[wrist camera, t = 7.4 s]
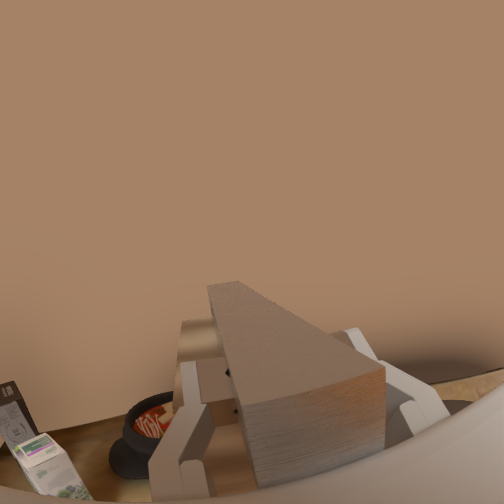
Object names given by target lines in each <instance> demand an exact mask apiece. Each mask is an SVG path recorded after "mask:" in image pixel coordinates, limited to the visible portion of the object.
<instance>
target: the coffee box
mask: <svg viewBox="0 0 504 504" xmlns="http://www.w3.org/2000/svg"><path fill="white" fill-rule="evenodd" d="M0 433H1V435H2V437H3V438H4V440H5V442H6V444H7V446H8V448H9V449H10V451H11V453H12V455H13V456H14V458H15V460H16V462H17V463H18V465H19V467H20V468H21V470H22V471H23V473H24V475H25V476H26V478H27V479H28V481H29V482H30V484H31V485H32V487H33V488H34V490H35V491H36V492H38V491H37V490H36V488H35V487H34V485H33V484H32V482H31V481H30V479H29V478H28V476H27V475H26V473H25V471H24V470H23V468H22V467H21V465H20V463H19V462H18V460H17V458H16V456H15V455H14V453H13V451H12V448H13V447H15V446H17V445H20V444H22V443H24V442H26V441H28V440H30V439H32V438H34V437H37V436H39V435H40V434H39V432H38V430H37V428H36V426H35V424H34V422H33V419H32V417H31V415H30V413H29V411H28V408H27V406H26V404H25V402H24V399H23V397H22V395H21V393H20V392H19V390H18V388H17V386H16V384H15V382H14V381H11V382H7V383H4V384H1V385H0Z"/></svg>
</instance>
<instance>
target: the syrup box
mask: <svg viewBox="0 0 504 504" xmlns="http://www.w3.org/2000/svg"><path fill="white" fill-rule="evenodd" d="M12 451H13V453H14V455H15V456H16V458H17V460H18V462H19V463H20V465H21V467H22V468H23V470H24V471H25V473H26V475H27V476H28V478H29V479H30V481H31V482H32V484H33V485H34V487H35V488H36V490H37V491H38V493H39V494H43V495H49V496H55V497H62V498H70V499H79V500H90V501H95V500H94V499H93V497H92V496H91V494H90V493H89V491H88V489H87V488H86V486H85V484H84V483H83V481H82V479H81V478H80V476H79V474H78V472H77V471H76V469H75V467H74V465H73V463H72V462H71V460H70V458H69V456H68V454H67V452H66V451H65V450H64V449H63V448H61V447H60V446H59V445H58V444H57V443H56V442H55V441H54V440H53V439H52V438H51V437H50V436H49V435H48V434H46V433H43V434H41V435H39V436H37V437H34V438H32V439H30V440H28V441H26V442H24V443H22V444H20V445H17V446H15V447H13V448H12Z"/></svg>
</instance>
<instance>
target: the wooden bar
mask: <svg viewBox="0 0 504 504" xmlns="http://www.w3.org/2000/svg"><path fill="white" fill-rule="evenodd" d="M207 289H208V295H209V301H210V306H211V313H212V318H213V322H214V327H215V331H216V336H217V340H218V344H219V348H220V353H221V357H226V361H227V365H228V371H229V377H230V379H231V383H232V387H233V392H234V396H235V402H236V408H237V409H236V410H237V414H238V420H239V427H240V431H241V434H242V438H243V441H244V445H245V448H246V452H247V455H248V459H249V462H250V466H251V469H252V472H253V476H254V479H255V482H256V486H257V489H258V490H259V489H264V488H269V487H273V486H278V485H282V484H286V483H290V482H293V481H297V480H301V479H304V478H308V477H311V476H315V475H318V474H321V473H324V472H327V471H331V470H334V469H336V468H339V467H342V466H345V465H348V464H351V463H353V462H356V461H359V460H361V459H364V458H366V457H369V456H371V455H374V454H376V453H379V452H381V451H383V450H384V446H385V423H386V367H385V366H384V365H382V364H380V363H378V362H376V361H375V360H373V359H371V358H369V357H367V356H366V355H364V354H362V353H360V352H358V351H357V350H355V349H353V348H351V347H350V346H348V345H346V344H344V343H343V342H341V341H339V340H337V339H336V338H334V337H332V336H330V335H329V334H327V333H325V332H323V331H322V330H320V329H318V328H316V327H315V326H313V325H311V324H310V323H308V322H306V321H304V320H303V319H301V318H299V317H298V316H296V315H294V314H292V313H291V312H289V311H287V310H286V309H284V308H282V307H280V306H279V305H277V304H276V303H274V302H272V301H270V300H269V299H267V298H266V297H264V296H262V295H260V294H259V293H257V292H256V291H254V290H252V289H251V288H249V287H247V286H246V285H243V284H242V283H241V282H239V281H234V282H228V283H221V284H215V285H209V286H207Z"/></svg>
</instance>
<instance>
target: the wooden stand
mask: <svg viewBox="0 0 504 504" xmlns="http://www.w3.org/2000/svg"><path fill="white" fill-rule="evenodd" d="M218 357H221V353H220V348H219V344H218V340H217V336H216V331H215V327H214V322H213V318H212V316H211V317H206V318H199V319H194V320H187V321H182V326H181V333H180V341H179V349H178V357H177V365H176V375H175V383H174V393H173V402H172V409H173V412H174V415H176V413H177V411H178V409H179V407H183V406H184V400H183V391H182V382H181V372H180V363H181V362H189V361H196V360H204V359H211V358H218ZM202 462H203V464H204V466H205V467H206V469H207V471H208V472H209V474H210V476H211V477H212V479H213V481H214V484H215V488H216V492H217V497H218V496H225V495H232V494H238V493H243V492H249V491H254V490H258V489H257V486H256V482H255V479H254V476H253V472H252V469H251V466H250V462H249V459H248V455H247V452H246V448H245V445H244V441H243V438H242V434H241V431H240V427H239V423H237V424H232V425H227V426H221V427H216V428H215V431H214V433H213V436H212V438H211V441H210V443H209V445H208V448H207V450H206V452H205V455H204V457H203V460H202Z"/></svg>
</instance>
